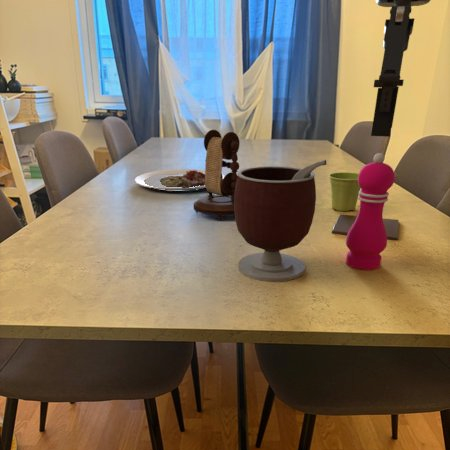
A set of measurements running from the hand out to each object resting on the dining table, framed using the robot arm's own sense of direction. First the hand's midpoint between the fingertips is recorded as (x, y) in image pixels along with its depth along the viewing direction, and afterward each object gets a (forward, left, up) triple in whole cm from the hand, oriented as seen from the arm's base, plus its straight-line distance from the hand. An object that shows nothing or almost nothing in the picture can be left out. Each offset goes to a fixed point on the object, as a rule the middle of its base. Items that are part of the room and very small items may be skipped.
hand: (382, 131), depth 71 cm
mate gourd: (+15, +8, -24) cm, 29 cm away
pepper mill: (0, 0, -24) cm, 24 cm away
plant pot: (+8, -38, -24) cm, 46 cm away
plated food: (+62, -51, -24) cm, 84 cm away
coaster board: (+1, -23, -23) cm, 33 cm away
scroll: (+37, -23, -24) cm, 49 cm away
